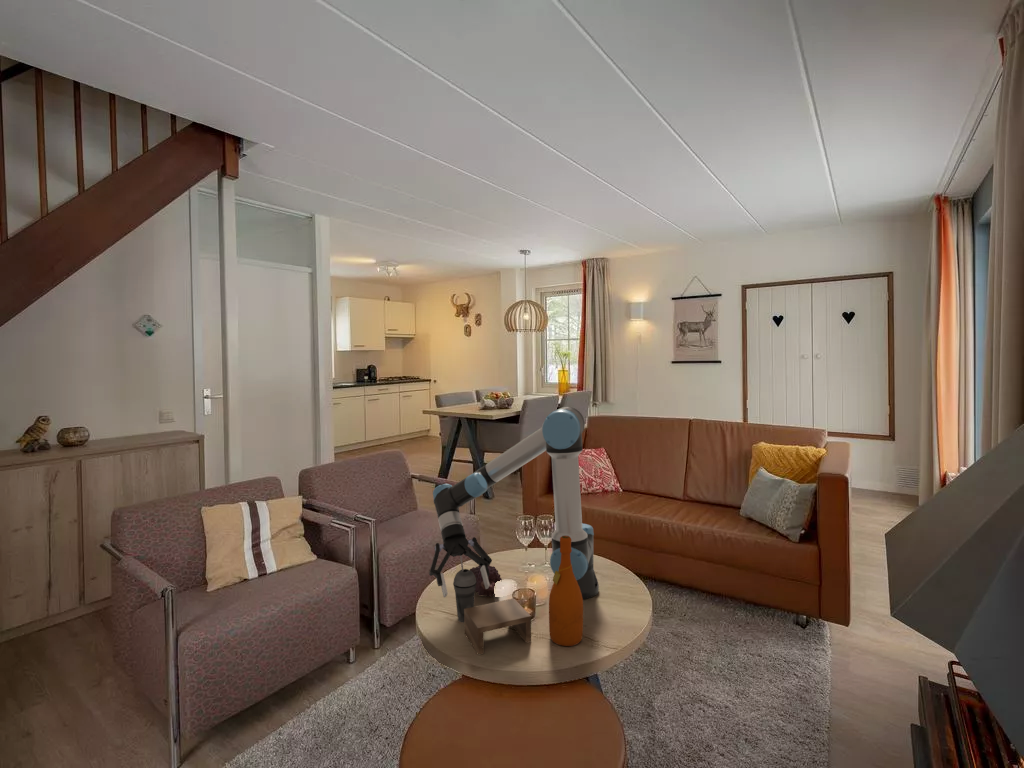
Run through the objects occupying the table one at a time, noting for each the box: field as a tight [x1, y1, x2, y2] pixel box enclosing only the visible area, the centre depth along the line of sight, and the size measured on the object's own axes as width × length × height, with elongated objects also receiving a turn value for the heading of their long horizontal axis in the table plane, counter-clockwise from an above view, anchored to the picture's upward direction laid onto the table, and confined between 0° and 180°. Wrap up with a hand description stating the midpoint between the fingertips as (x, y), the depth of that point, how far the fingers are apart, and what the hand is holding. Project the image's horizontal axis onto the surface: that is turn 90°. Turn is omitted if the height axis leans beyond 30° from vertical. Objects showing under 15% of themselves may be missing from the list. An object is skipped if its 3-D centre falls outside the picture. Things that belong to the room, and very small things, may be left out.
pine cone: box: [469, 564, 503, 598], centre depth 176 cm, size 18×10×10 cm, turn 37°
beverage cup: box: [452, 555, 477, 624], centre depth 159 cm, size 7×7×20 cm
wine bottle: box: [548, 536, 584, 647], centre depth 147 cm, size 10×10×30 cm
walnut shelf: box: [463, 598, 532, 655], centre depth 148 cm, size 16×12×8 cm
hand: (467, 591), depth 157 cm, fingers open, 13 cm apart
